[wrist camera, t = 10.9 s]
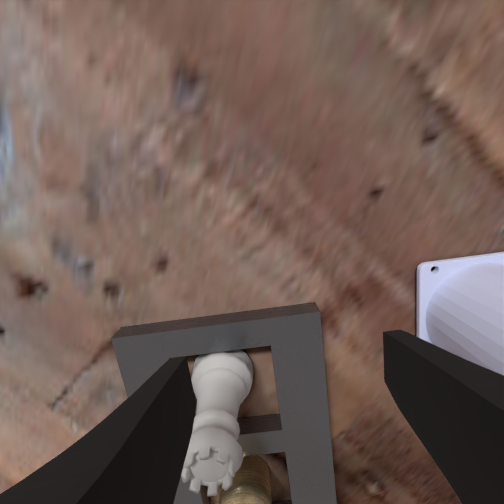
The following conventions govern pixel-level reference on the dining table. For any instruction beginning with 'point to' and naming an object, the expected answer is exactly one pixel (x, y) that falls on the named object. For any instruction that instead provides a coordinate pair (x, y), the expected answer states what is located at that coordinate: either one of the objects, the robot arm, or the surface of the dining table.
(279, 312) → the bolt plate
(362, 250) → the dining table surface
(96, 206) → the dining table surface
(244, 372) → the rook chess piece
